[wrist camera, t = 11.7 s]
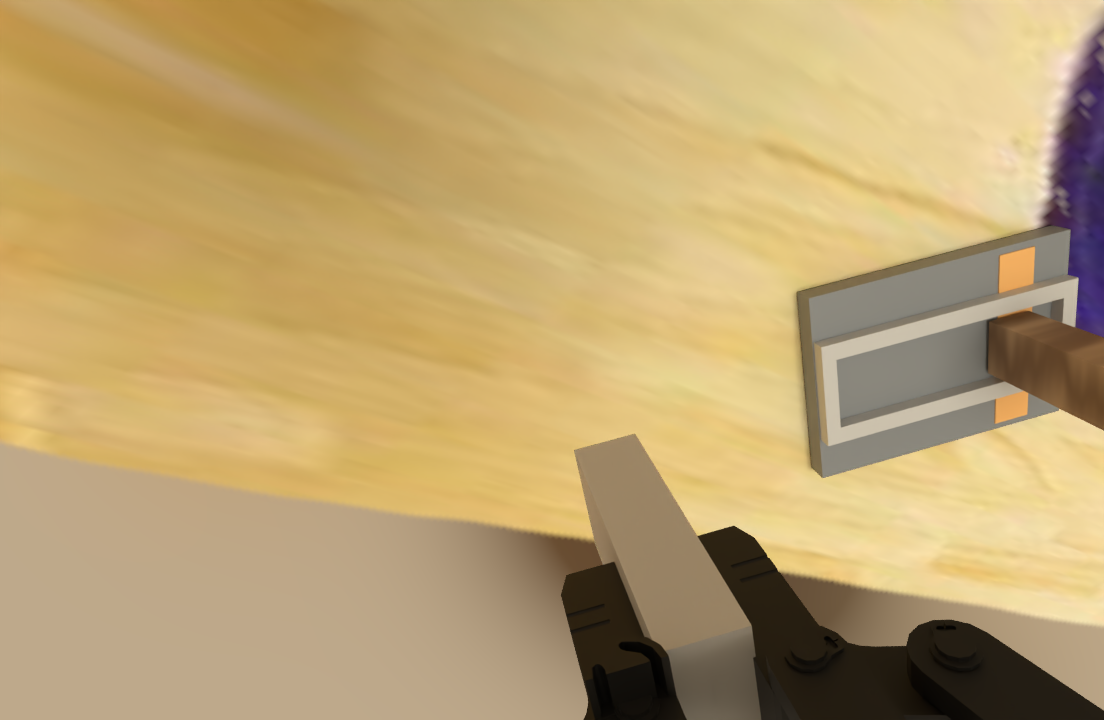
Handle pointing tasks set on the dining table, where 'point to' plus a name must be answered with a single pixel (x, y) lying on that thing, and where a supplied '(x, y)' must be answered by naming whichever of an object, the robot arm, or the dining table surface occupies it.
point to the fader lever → (1050, 363)
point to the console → (924, 348)
